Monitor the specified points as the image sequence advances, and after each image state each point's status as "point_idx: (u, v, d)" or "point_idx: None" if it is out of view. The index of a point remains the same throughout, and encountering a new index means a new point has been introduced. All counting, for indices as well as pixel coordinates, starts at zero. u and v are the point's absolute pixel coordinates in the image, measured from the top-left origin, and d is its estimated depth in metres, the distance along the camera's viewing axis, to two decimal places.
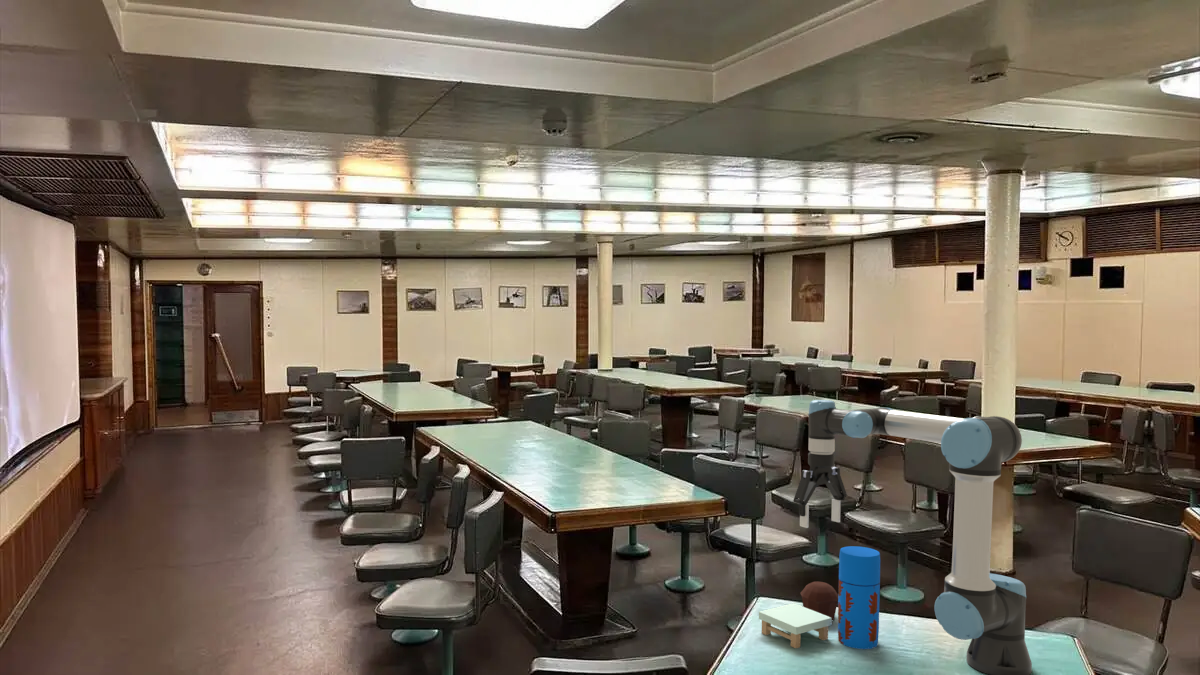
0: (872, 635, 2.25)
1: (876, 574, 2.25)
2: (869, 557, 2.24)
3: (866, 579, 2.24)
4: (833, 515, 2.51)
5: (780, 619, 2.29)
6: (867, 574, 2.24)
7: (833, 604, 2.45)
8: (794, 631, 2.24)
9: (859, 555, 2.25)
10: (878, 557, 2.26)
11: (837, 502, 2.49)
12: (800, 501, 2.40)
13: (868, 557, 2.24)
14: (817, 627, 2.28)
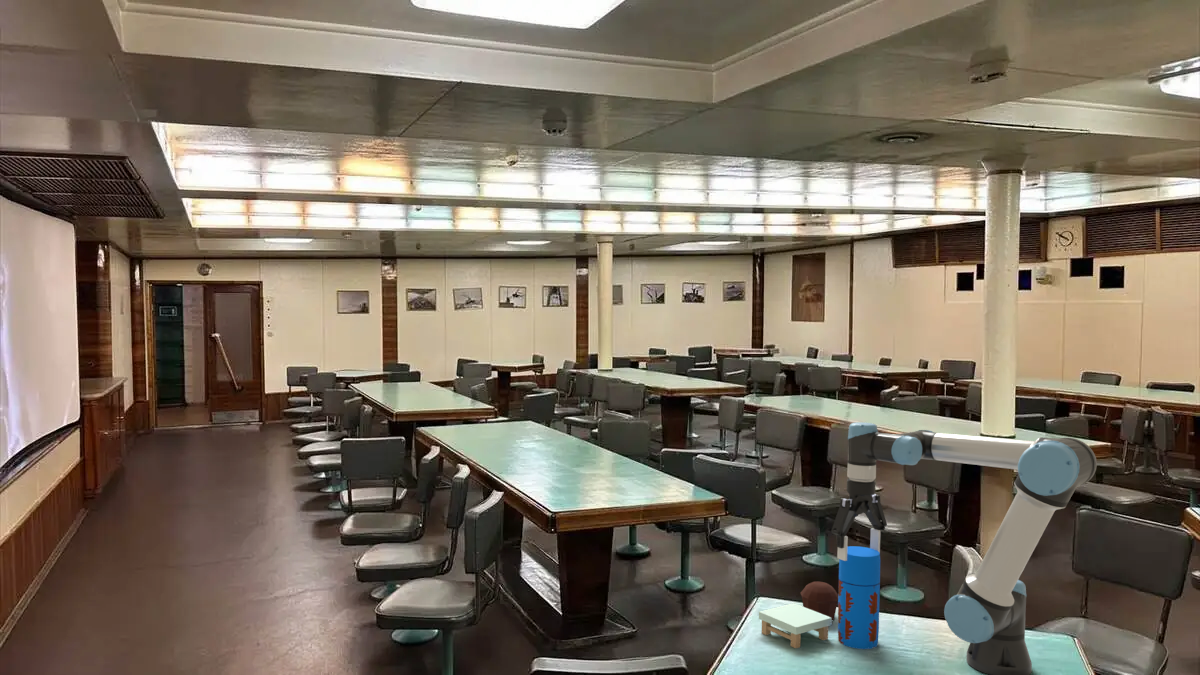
0: (872, 635, 2.25)
1: (876, 574, 2.25)
2: (869, 557, 2.24)
3: (866, 579, 2.24)
4: (872, 546, 2.33)
5: (780, 619, 2.29)
6: (867, 574, 2.24)
7: (833, 604, 2.45)
8: (794, 631, 2.24)
9: (859, 555, 2.25)
10: (878, 557, 2.26)
11: (877, 532, 2.32)
12: (839, 532, 2.23)
13: (868, 557, 2.24)
14: (817, 627, 2.28)
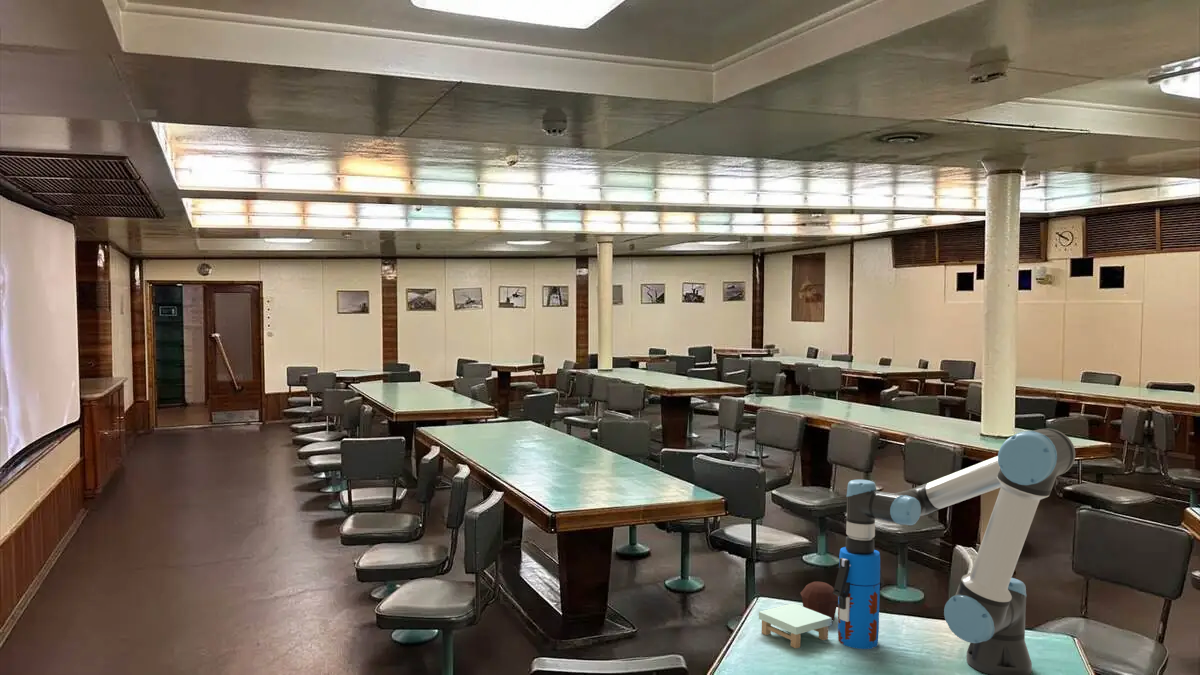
0: (872, 635, 2.25)
1: (876, 574, 2.25)
2: (869, 557, 2.24)
3: (866, 579, 2.24)
4: None
5: (780, 619, 2.29)
6: (867, 574, 2.24)
7: (833, 604, 2.45)
8: (794, 631, 2.24)
9: (859, 555, 2.25)
10: (878, 557, 2.26)
11: None
12: (840, 594, 2.23)
13: (868, 557, 2.24)
14: (817, 627, 2.28)
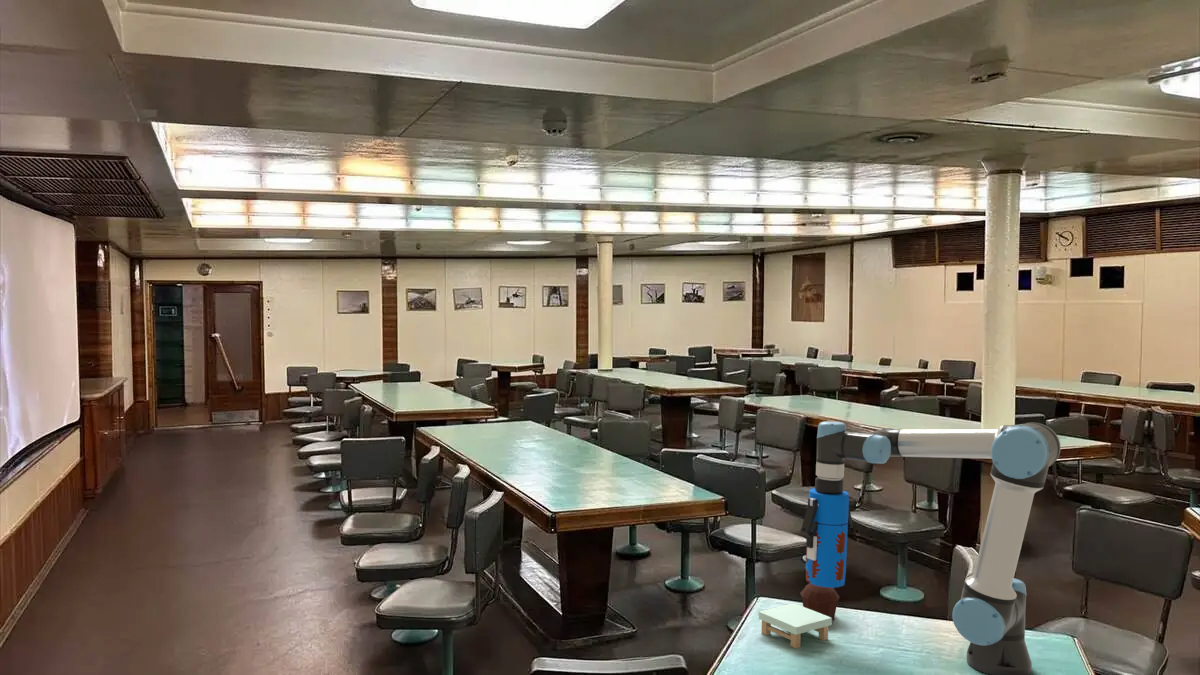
0: (839, 574, 2.27)
1: (844, 514, 2.27)
2: (837, 497, 2.26)
3: (834, 518, 2.26)
4: None
5: (780, 619, 2.29)
6: (835, 513, 2.25)
7: (833, 604, 2.45)
8: (794, 631, 2.24)
9: (827, 495, 2.27)
10: (846, 497, 2.27)
11: None
12: (808, 532, 2.25)
13: (836, 497, 2.26)
14: (817, 627, 2.28)
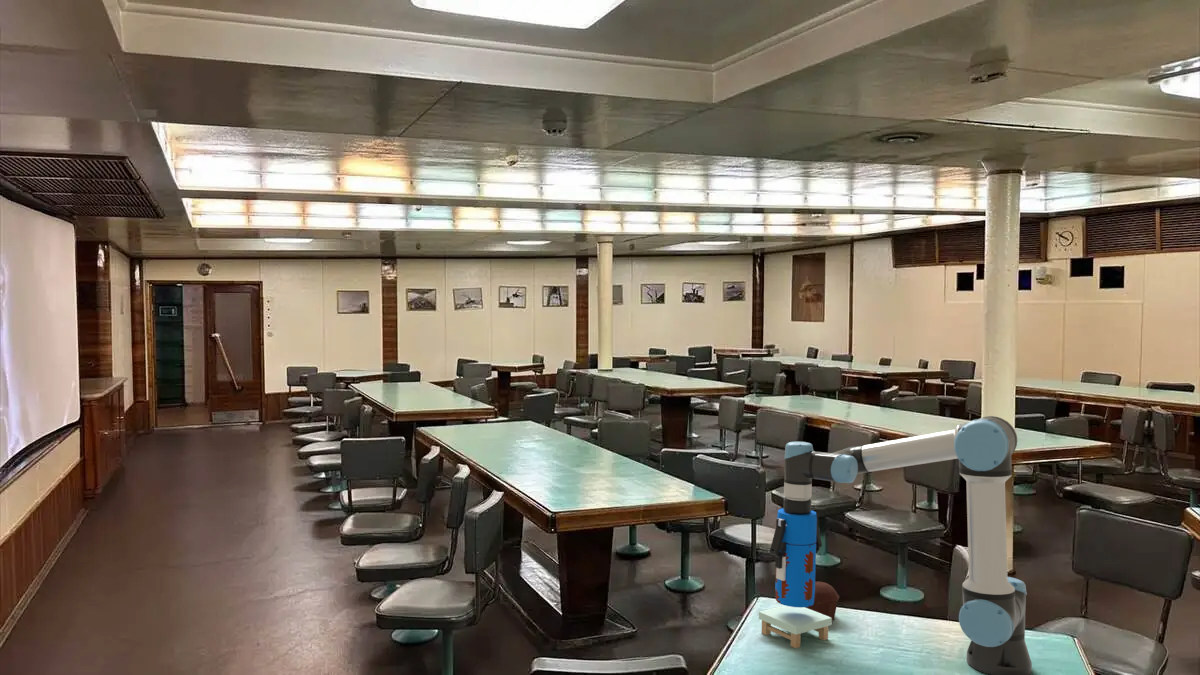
0: (808, 594, 2.28)
1: (812, 534, 2.28)
2: (805, 517, 2.27)
3: (802, 538, 2.27)
4: None
5: (780, 619, 2.29)
6: (803, 533, 2.27)
7: (833, 604, 2.45)
8: (794, 631, 2.24)
9: (795, 515, 2.28)
10: (814, 517, 2.29)
11: None
12: (776, 553, 2.27)
13: (804, 517, 2.27)
14: (817, 627, 2.28)
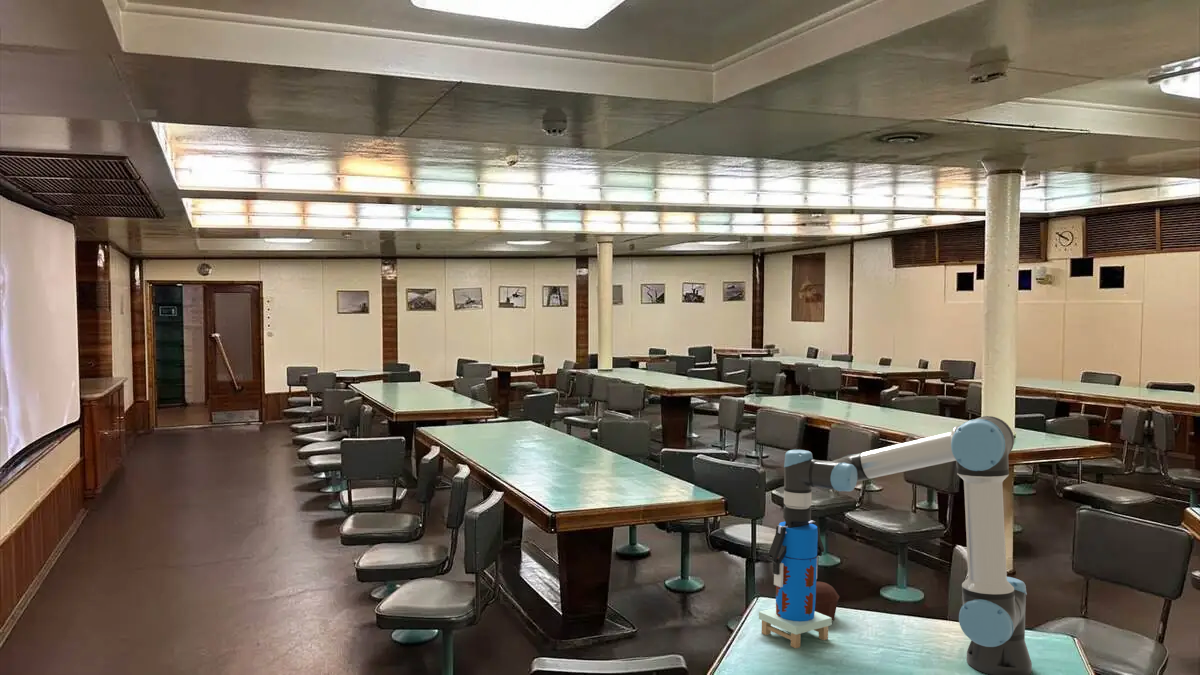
0: (808, 608, 2.28)
1: (813, 548, 2.28)
2: (806, 531, 2.27)
3: (802, 552, 2.27)
4: None
5: (780, 619, 2.29)
6: (804, 547, 2.27)
7: (833, 604, 2.45)
8: (794, 631, 2.24)
9: (796, 529, 2.28)
10: (815, 531, 2.29)
11: None
12: (774, 559, 2.26)
13: (805, 531, 2.27)
14: (817, 627, 2.28)
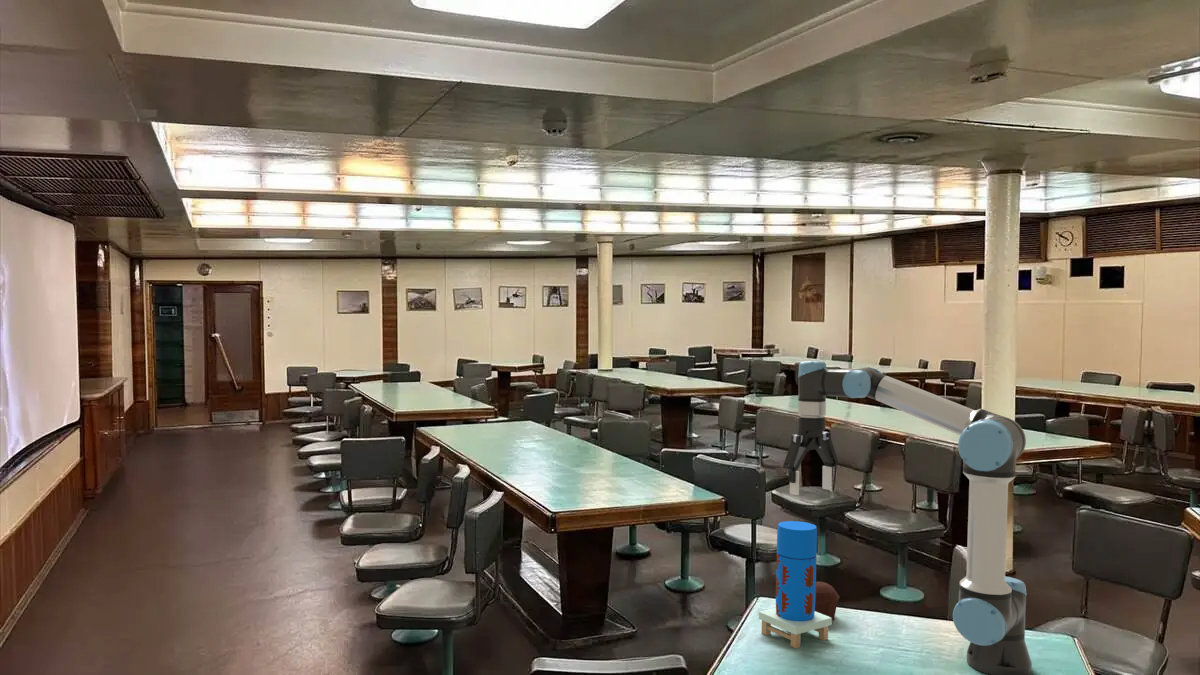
0: (808, 608, 2.28)
1: (812, 547, 2.28)
2: (805, 531, 2.27)
3: (802, 552, 2.27)
4: (824, 483, 2.38)
5: (780, 619, 2.29)
6: (803, 547, 2.27)
7: (833, 604, 2.45)
8: (794, 631, 2.24)
9: (795, 529, 2.28)
10: (814, 531, 2.29)
11: (828, 469, 2.37)
12: (790, 467, 2.27)
13: (804, 531, 2.27)
14: (817, 627, 2.28)
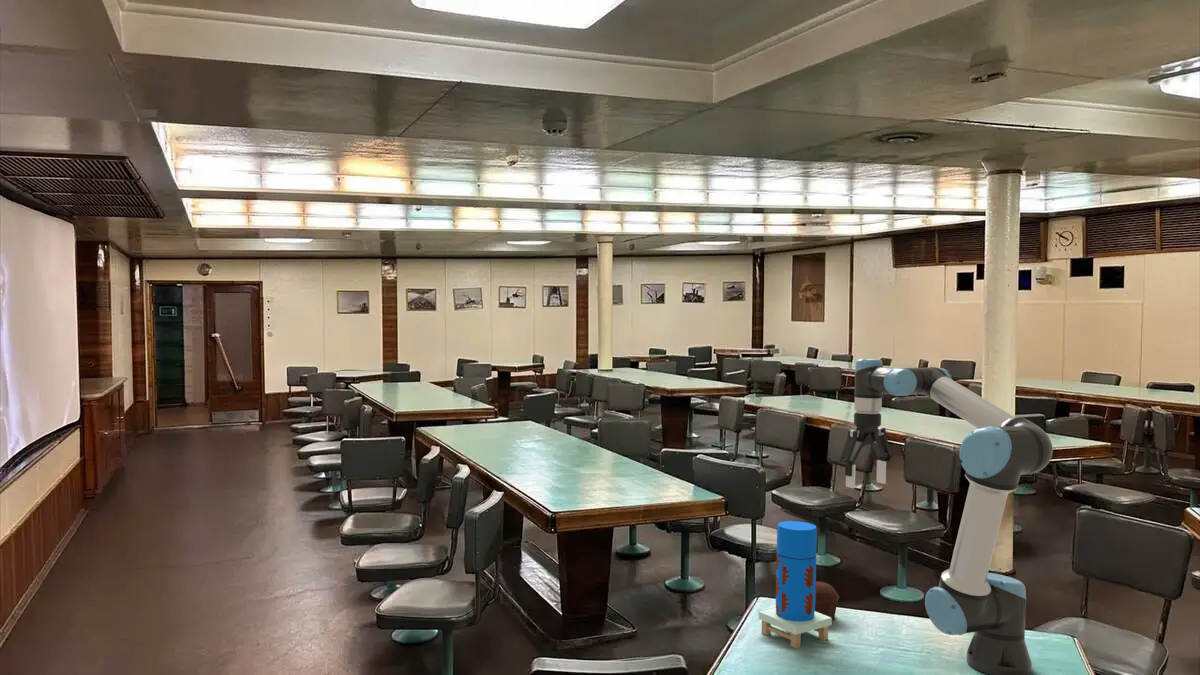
0: (808, 608, 2.28)
1: (812, 547, 2.28)
2: (805, 531, 2.27)
3: (802, 552, 2.27)
4: (878, 476, 2.46)
5: (780, 619, 2.29)
6: (803, 547, 2.27)
7: (833, 604, 2.45)
8: (794, 631, 2.24)
9: (795, 529, 2.28)
10: (814, 531, 2.29)
11: (883, 463, 2.45)
12: (847, 461, 2.35)
13: (804, 531, 2.27)
14: (817, 627, 2.28)
